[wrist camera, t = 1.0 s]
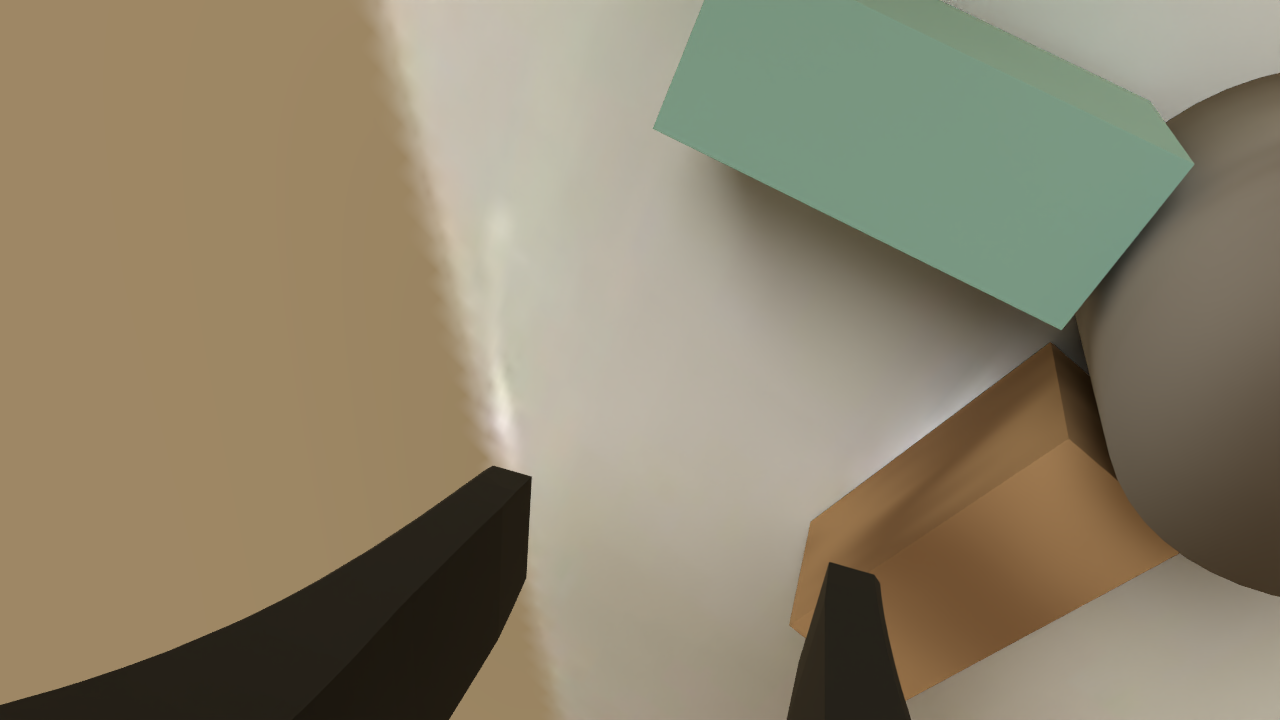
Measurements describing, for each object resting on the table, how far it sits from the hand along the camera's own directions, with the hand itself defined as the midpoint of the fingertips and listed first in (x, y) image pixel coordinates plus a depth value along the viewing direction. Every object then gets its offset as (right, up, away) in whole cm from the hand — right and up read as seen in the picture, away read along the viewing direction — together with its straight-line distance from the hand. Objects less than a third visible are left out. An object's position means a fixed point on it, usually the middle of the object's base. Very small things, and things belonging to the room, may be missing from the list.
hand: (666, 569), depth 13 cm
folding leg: (+5, +8, +4) cm, 10 cm away
